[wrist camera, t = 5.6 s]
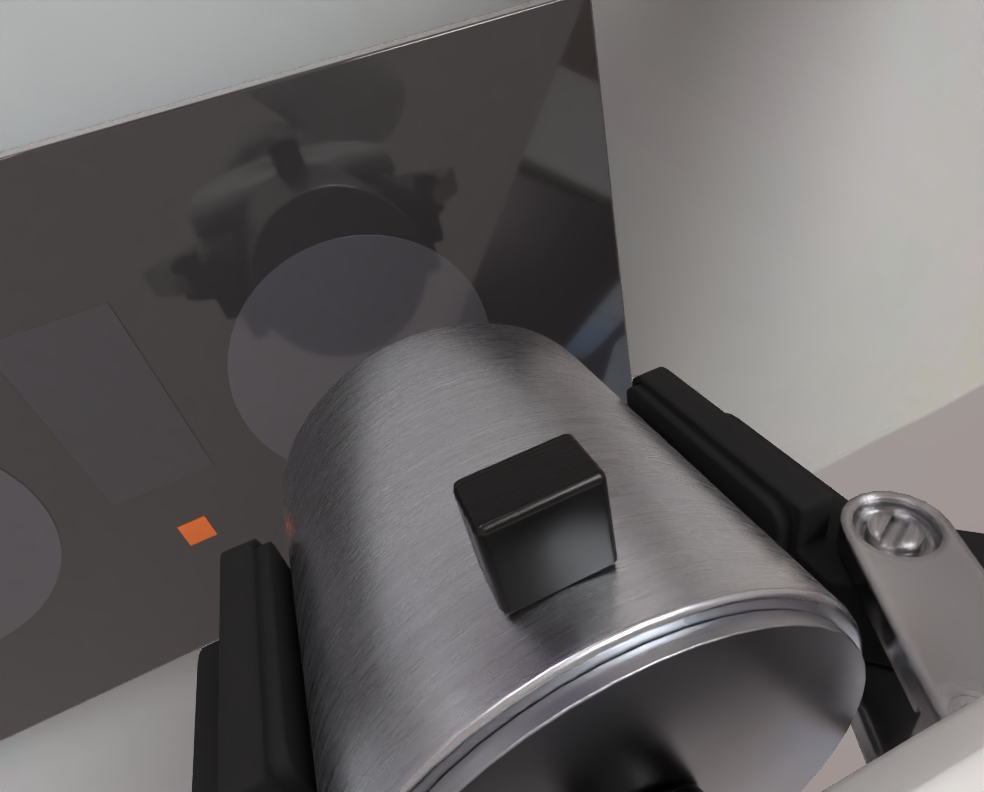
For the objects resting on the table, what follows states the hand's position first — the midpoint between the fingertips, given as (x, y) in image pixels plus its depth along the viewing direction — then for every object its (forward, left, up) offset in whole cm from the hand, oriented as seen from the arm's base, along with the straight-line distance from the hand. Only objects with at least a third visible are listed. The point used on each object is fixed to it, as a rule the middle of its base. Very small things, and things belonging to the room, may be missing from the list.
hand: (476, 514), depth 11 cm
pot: (0, 0, -1) cm, 1 cm away
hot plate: (+7, 0, -10) cm, 12 cm away
